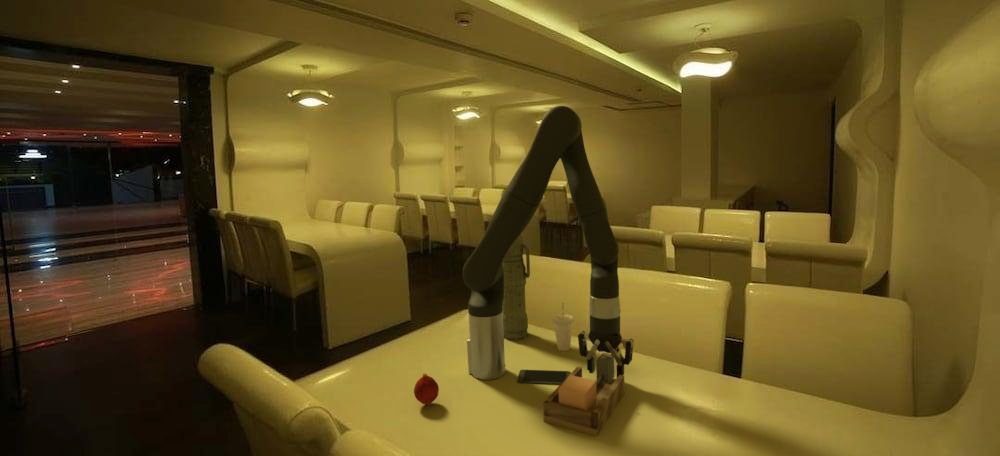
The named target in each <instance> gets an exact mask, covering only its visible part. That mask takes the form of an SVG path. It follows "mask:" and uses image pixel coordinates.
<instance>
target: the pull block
mask: <svg viewBox="0 0 1000 456" xmlns="http://www.w3.org/2000/svg"><path fill="white" fill-rule="evenodd" d="M595 361H596V362H595V367H596V380H595V379H590V378H586V377H583V376H582V377H577V376H572V375H571V376H570V377H569V378H568V379H567V380H566V381H565V382H564V383H563V384H562V385H561V386H560V387H559V388H558V390H559V404H563V405H567V406H571V407H575V408H579V409H583V410H587V411H591V412H592V411H593V410H594V409H595V407H596V406H597V405H596V388H597V387H598V386H599V384H600V383H606V384H610V383H611V382H612V380H613V379H614V378H615V358H613V356H612V355H611V353H606V352H602V353H601V354H600V355H599V356H598V357H597V359H596V360H595Z"/></svg>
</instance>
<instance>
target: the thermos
mask: <svg viewBox="0 0 1000 456" xmlns="http://www.w3.org/2000/svg"><path fill="white" fill-rule="evenodd" d="M523 241H524V240H523V237H522V233H521V234H520V236H519V237H518V238H517V239H516V241H515V242H514V243H513V244H512V246H511V247H510V248H509V250H508V251H507V253H506V255H505V257H504V259H503V261H502V265H503V273H504V299H503V305H502V309H503V331H504V338H506V339H505V340H507V339H512V340H511V341H517V340H516V339H521V340H524V339H526V338H527V337H528V336H529V334H528V329H529V323H528V322H529V318H528V314H527V309H526V285H527V278H530V277H531V275H530V274H531V266H530V265H531V263H530V249H529V247H528V246H527V245H525V244H524V243H523ZM524 250H525V258H526V259H525V260H526V261H525V262H524ZM525 265H526V266H525ZM527 335H528V336H527ZM525 337H526V338H525ZM523 338H524V339H523Z"/></svg>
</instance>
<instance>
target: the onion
mask: <svg viewBox="0 0 1000 456" xmlns="http://www.w3.org/2000/svg"><path fill="white" fill-rule="evenodd" d="M439 391H440V388H439V385H438V382H437V381H436V380H435V379H434V378H433V376H430V375H428V374H427V372H423V373H422V376H421V377H420V378H419V379H417V380H416V383H415V385H414V388H413V394H414V397H415V399H416V400H417V401H418V402H419V403H421V404H423V405H424V404H425V405H424V406H429V405H430V404H432V403H433V402H434V401H435V400H436V399H437V398H438V395H439ZM428 404H429V405H428Z"/></svg>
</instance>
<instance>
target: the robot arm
mask: <svg viewBox="0 0 1000 456" xmlns="http://www.w3.org/2000/svg"><path fill="white" fill-rule="evenodd" d="M530 145H531V146H530V148H529V150H528V152H527V154H526V156H525V157H524V159H523V161H522V162H521V164H520V165H519V166H518V168H517V170H516V171H515V173H514V175H513V177H512V178H511V180H510V181H509V183H508V185H507V186H506V189H505V190H504V193H502V197H501V198H500V200H499V202H498V204H497V206H496V208H495V211H494V213H493V214H492V216H491V219H490V220H489V223H488V226H487V228H486V230H485V232H484V234H483V237H482V238H481V240H480V242H478V244H477V246H476V247H475V249H474V250H473V252H472V253H471V255H470V256H469V257H468V258H467V260H466V262H465V263H464V266H463V267H462V280H463V282H464V285H466V287H467V288H468V289H470V291H471V293H470V297H469V299H468V304H467V313H468V327H469V338H468V339H467V340H466V348H467V349H466V350H467V351H466V352H467V367H468V374H470V373H471V375H472V376H473V377H474V378H476V379H478V378H479V380H484V381H485V380H486V381H488V380H496V379H498V378H501V377H502V376H503V375H505V374H506V359H505V357H506V355H505V354H506V353H505V339H504V331H503V309H502V305H503V299H504V273H503V265H502V261H503V259H504V257H505V255H506V253H507V251H508V250H509V248H510V247H511V246H512V244H513V243H514V242H515V241H516V239H517V238H518V237H519V236H520V234H521V235H522V233H523V232H524V230H525V229H526V228H527V227H528V225H529V223H530V222H531V221H532V219H533V217H534V215H535V213H536V212H537V210H538V208H539V207H540V205H541V202H542V201H543V198H544V196H545V194H546V190H547V187H548V184H549V182H550V179H551V176H552V173H553V171H554V170H555V167H556V165H557V164H558V162H559V160H560V162H561V163H562V166H563V169H564V172H565V175H566V179H567V186H568V190H569V193H570V197H571V201H572V204H573V207H574V210H575V213H576V216H577V219H578V222H579V223H580V225H581V228H582V232H583V236H584V241H585V244H586V248H587V251H588V254H589V256H590V266H591V267H590V269H591V272H590V279H589V281H590V282H589V294H590V295H589V296H590V297H589V332H586V331H584V330H582V331H580V333H579V334H577V339H578V351H579V356H581V357H584V358H586V365H587V366H586V369H587V371H588V373H589V374H594V372H595V367H596V362H595V361H596V360H595V354H596V353H597V351H598V352H602V353H608V354H611V355H612V356H613V358H614V361H615V362H616V378H617V377H618V376H619V375H623V376H625V365H626V366H627V365H630V363H631V362H632V361H633V354H634V353H633V351H634V339H633V338H629V339H627V338H623V337H622V334H621V303H620V302H621V301H620V282H619V281H620V280H619V273H618V272H619V271H618V269H619V268H618V265H619V251H620V248H619V242H618V240H617V238H616V237H615V235H614V232H613V231H612V230H613V229H612V227H611V225H610V223H609V217H608V212H607V209H606V206H605V203H604V199H603V198H602V194H601V192H600V188H599V186H598V184H597V181H596V178H595V176H594V173H593V171H592V168H591V166H590V162H589V159H588V155H587V153H586V148H585V143H584V137H583V129H582V121H581V119H580V116H579V115H578V113H576V112H575V110H573V109H572V108H570V107H569V106H566V105H558V106H553V107H552V108H550V109H549V110H547V111H546V113H544V115H543V117H542V118H541V121H540V124H539V127H538V128H537V131H536V133H535V136H534V139H533V141H532V143H531V144H530ZM588 340H589V341H590V342H591V344H592V346H591V348H590V350H588V344H587V341H588ZM621 344H622V347H623V348H624V350H625V351H624V355H623V352H622V350H621V348H620V346H619V345H621Z"/></svg>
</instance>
